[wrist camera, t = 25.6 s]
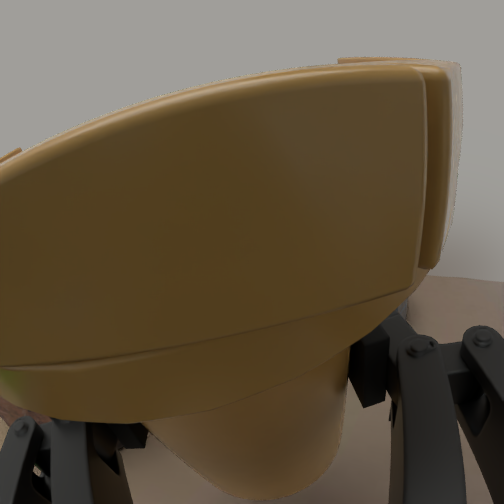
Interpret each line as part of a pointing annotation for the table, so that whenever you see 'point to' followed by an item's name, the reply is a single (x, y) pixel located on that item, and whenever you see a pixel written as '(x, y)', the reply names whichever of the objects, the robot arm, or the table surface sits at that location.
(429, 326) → the table surface
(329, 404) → the pedestal tray stand
